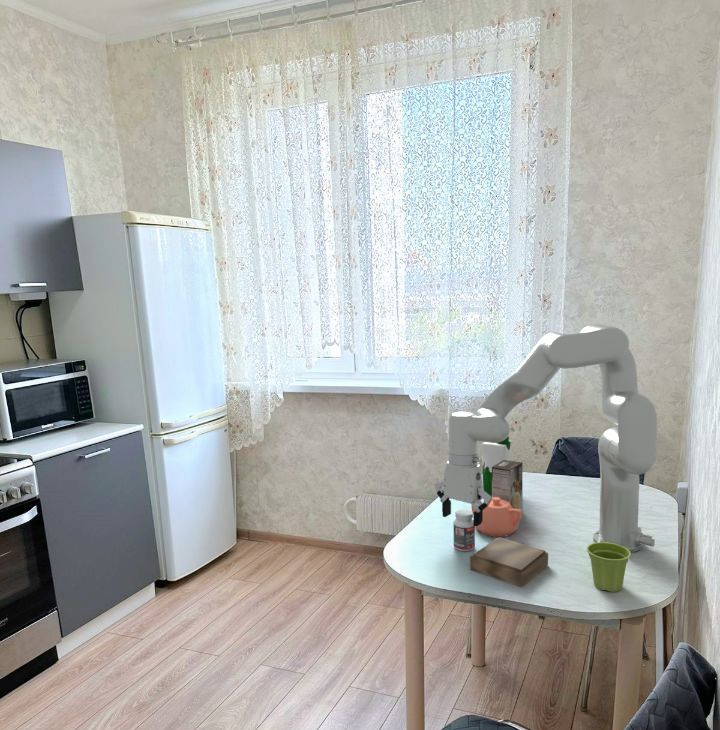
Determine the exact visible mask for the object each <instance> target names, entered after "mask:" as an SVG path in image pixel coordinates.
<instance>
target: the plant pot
mask: <svg viewBox="0 0 720 730" xmlns="http://www.w3.org/2000/svg"><path fill="white" fill-rule="evenodd" d="M586 552H587V553H588V556H589V559H590V565H591V572H592V573H591V574H592V580H593V585H594V586H595V587H596V589H599V590H602V591H608V592H609V593H614V592H620V591H621V590H622V588H623V585H624V579H625V575H626V569H627V563H628V562H629V559H630V558H631V553H632V552H630V551H629V550H628V549H627V548H625V547H623V546H620V545H617V544H613V543H606V542H598V543H595V542H592V543H590V544H588V545H587V546H586Z"/></svg>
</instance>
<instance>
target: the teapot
mask: <svg viewBox="0 0 720 730" xmlns="http://www.w3.org/2000/svg"><path fill="white" fill-rule="evenodd" d="M470 507H471V511H472V512H473V516H474V512H475V509H474V507H473V506H472V504H470ZM516 513H517V516H516ZM523 515H524V514H523V512H522V511H521V510H520V509H513V507H512V506H511V504H510V503H509V502H508V501H505V500H501V498H499V497H493V498H492V500H491V502H490V504H489V506H488V507H486V508H485V509H484V510H483V520H482V523H481V524H480V525H478V526H476V527H475V529H477V530H478V531H479V532H480V533H481V534H483V535H486V536H489V537H496V538H498V537H500V538H503V537H508V536H510V535H513V534H514V533H515V531H517V529H518V527H519V522H520V521H521V519H522V518H523Z"/></svg>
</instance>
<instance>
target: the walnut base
mask: <svg viewBox="0 0 720 730" xmlns="http://www.w3.org/2000/svg"><path fill="white" fill-rule="evenodd" d="M469 558H470V559H469V560H470V561H469V562H470V565H469V568H470V571H473V572H476V573H479V574H482V575H484V576H487V577H491V578H494V579H496V580H500V581H502V582H505V583H508V584H511V585H513V586H517V587H520V588H524V586H526V584H528V583H529V582H531V580H532V579H534V578H535V577H536V576H538V575H539V574H540V573H541V572H542V571H543V570H545V568H547V567H548V566H549V552H548V551H546V550H545V549H543V548H538V547H534V546H532V545H528V544H524V543H520V542H518V541H514V540H510V539H506V538H503V537H496V538H494V540H492V541H491V542H489V543H488V544H486V545H484V546H483V547H482V548H480V549H478V550H477V551H476V552H474V553H473V554H472V555H471V556H470V557H469Z"/></svg>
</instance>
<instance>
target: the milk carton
mask: <svg viewBox="0 0 720 730" xmlns="http://www.w3.org/2000/svg"><path fill="white" fill-rule="evenodd" d="M481 446H482V448H481V449H482V450H481V451H482V481H483V490H484V491H485V492H486V493H487V494H489V495H490V496H491V497H492V467H493V466H494V465H496V464H498V463H499V462H501V461H503V460H509V461H512V459H511V458H512V456H511V455H512V452H511V451H512V440H510V436H509V435H508V437H507V438H506V439H505V440H504V441H502V442H499V443H489V442H482V444H481Z"/></svg>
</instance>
